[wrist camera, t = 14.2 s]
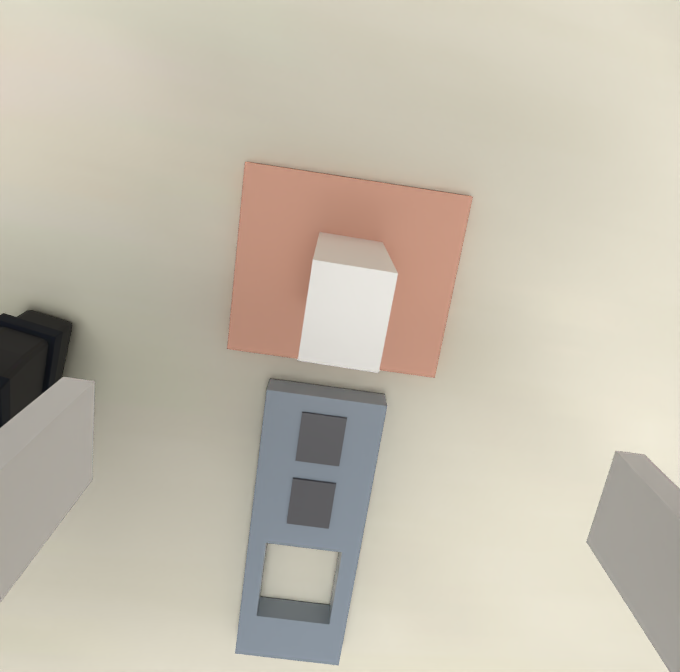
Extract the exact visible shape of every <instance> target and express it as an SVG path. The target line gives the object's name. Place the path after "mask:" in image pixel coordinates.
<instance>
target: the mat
mask: <svg viewBox="0 0 680 672" xmlns="http://www.w3.org/2000/svg"><path fill="white" fill-rule="evenodd" d="M472 198H473V197H471V196H467V195H460V194H454V193H447V192H441V191H434V190H428V189H421V188H415V187H408V186H402V185H395V184H388V183H382V182H375V181H369V180H362V179H356V178H349V177H343V176H336V175H330V174H323V173H317V172H310V171H304V170H297V169H291V168H284V167H278V166H271V165H265V164H258V163H252V162H245V168H244V178H243V189H242V199H241V210H240V220H239V230H238V241H237V251H236V262H235V272H234V283H233V293H232V303H231V314H230V324H229V335H228V345H227V349H231V350H238V351H246V352H253V353H260V354H267V355H274V356H282V357H289V358H296V359H298V355H299V348H300V342H301V335H302V328H303V321H304V315H305V308H306V301H307V295H308V288H309V281H310V275H311V268H312V261H313V257H314V253H315V248H316V244H317V240H318V236H319V232H323V233H330V234H336V235H342V236H348V237H354V238H360V239H366V240H372V241H379V242H383V244H384V246H385V248H386V250H387V252H388V254H389V256H390V258H391V260H392V262H393V264H394V266H395V268H396V270H397V272H398V276H397V282H396V287H395V292H394V297H393V302H392V307H391V312H390V317H389V323H388V328H387V333H386V338H385V343H384V348H383V353H382V359H381V364H380V369H379V370H383V371H390V372H397V373H404V374H411V375H419V376H426V377H433V378H435V374H436V369H437V364H438V360H439V355H440V350H441V345H442V341H443V336H444V331H445V326H446V322H447V317H448V312H449V307H450V303H451V298H452V293H453V288H454V284H455V279H456V274H457V269H458V265H459V260H460V255H461V250H462V246H463V241H464V236H465V231H466V227H467V222H468V217H469V212H470V208H471V203H472Z"/></svg>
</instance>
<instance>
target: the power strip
mask: <svg viewBox="0 0 680 672" xmlns="http://www.w3.org/2000/svg"><path fill="white" fill-rule="evenodd" d="M386 409H387V403H386V398H385V394H379V393H372V392H365V391H358V390H350V389H343V388H336V387H328V386H321V385H314V384H306V383H299V382H292V381H284V380H277V379H270V381H269V384H268V387H267V392H266V400H265V409H264V417H263V425H262V434H261V442H260V450H259V459H258V467H257V475H256V484H255V492H254V500H253V509H252V517H251V525H250V534H249V542H248V550H247V559H246V567H245V575H244V584H243V592H242V600H241V609H240V617H239V625H238V634H237V642H236V650H235V653H236V654H245V655H254V656H262V657H271V658H280V659H288V660H297V661H306V662H314V663H323V664H332V665H339V660H340V655H341V649H342V644H343V639H344V633H345V628H346V623H347V617H348V612H349V607H350V601H351V596H352V591H353V585H354V580H355V575H356V569H357V564H358V559H359V553H360V548H361V543H362V537H363V532H364V527H365V521H366V516H367V511H368V505H369V500H370V495H371V489H372V484H373V479H374V473H375V468H376V463H377V457H378V452H379V447H380V441H381V436H382V431H383V425H384V420H385V415H386ZM267 543H271V544H279V545H287V546H295V547H303V548H311V549H320V550H328V551H336V552H339V555H338V561H337V566H336V572H335V578H334V584H333V589H332V595H331V601H330V605H326V604H317V603H309V602H301V601H292V600H284V599H276V598H267V597H260V593H261V585H262V577H263V570H264V562H265V554H266V547H267Z"/></svg>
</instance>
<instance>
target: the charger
mask: <svg viewBox="0 0 680 672" xmlns="http://www.w3.org/2000/svg"><path fill="white" fill-rule="evenodd" d="M397 276H398V272H397V270H396V268H395V266H394V264H393V262H392V260H391V258H390V256H389V254H388V252H387V250H386V248H385V246H384V244H383V242H379V241H372V240H366V239H360V238H354V237H348V236H342V235H336V234H330V233H323V232H319V236H318V240H317V244H316V248H315V253H314V257H313V261H312V268H311V275H310V281H309V288H308V295H307V301H306V308H305V315H304V321H303V328H302V335H301V342H300V348H299V355H298V361H303V362H310V363H316V364H323V365H329V366H336V367H343V368H349V369H356V370H362V371H369V372H375V373H379V369H380V364H381V359H382V353H383V348H384V343H385V338H386V333H387V328H388V323H389V317H390V312H391V307H392V302H393V297H394V292H395V287H396V282H397Z"/></svg>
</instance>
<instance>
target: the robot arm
mask: <svg viewBox="0 0 680 672" xmlns="http://www.w3.org/2000/svg"><path fill="white" fill-rule="evenodd" d="M94 402H95V381H92V380H84V379H77V378H69V377H62V378H61V379H60V380H59V381H57V382H56V383H55V384H54V385H52V386H51V387H50V388H49V389H48V390H46V391H45V392H44V393H43V394H41V395H40V396H39V397H38V398H37V399H35V400H34V401H33V402H32V403H30V404H29V405H28V406H27V407H25V408H24V409H23V410H22V411H21V412H19V413H18V414H17V415H16V416H14V417H13V418H12V419H11V420H10V421H8V422H7V423H6V424H5V425H3V426H2V427H1V428H0V602H1V601H2V600H3V598H4V597H5V596H6V594H7V593H8V592H9V590H10V589H11V588H12V586H13V585H14V584H15V582H16V581H17V580H18V578H19V577H20V576H21V574H22V573H23V572H24V570H25V569H26V568H27V566H28V565H29V564H30V562H31V561H32V560H33V558H34V557H35V556H36V554H37V553H38V552H39V550H40V549H41V548H42V546H43V545H44V544H45V542H46V541H47V540H48V538H49V537H50V536H51V534H52V533H53V532H54V530H55V529H56V528H57V526H58V525H59V524H60V522H61V521H62V520H63V518H64V517H65V516H66V514H67V513H68V512H69V510H70V509H71V508H72V506H73V505H74V504H75V502H76V501H77V500H78V498H79V497H80V496H81V494H82V493H83V492H84V490H85V489H86V488H87V486H88V485H89V484H90V482H91V481H92V479H93V441H94ZM587 544H588V545H589V547H590V548H591V550H592V551H593V553H594V555H595V556H596V558H597V559H598V561H599V562H600V564H601V565H602V567H603V569H604V570H605V572H606V573H607V575H608V576H609V578H610V579H611V581H612V583H613V584H614V586H615V587H616V589H617V590H618V592H619V594H620V595H621V597H622V598H623V600H624V601H625V603H626V604H627V606H628V608H629V609H630V611H631V612H632V614H633V615H634V617H635V618H636V620H637V622H638V623H639V625H640V626H641V628H642V629H643V631H644V633H645V634H646V636H647V637H648V639H649V640H650V642H651V643H652V645H653V647H654V648H655V650H656V651H657V653H658V654H659V656H660V658H661V659H662V661H663V662H664V664H665V665H666V667H667V668H668V670H669V672H680V489H679V488H678V487H677V486H676V485H675V484H674V483H673V482H672V481H671V480H670V479H669V478H668V477H667V476H666V475H665V474H664V473H663V472H662V471H661V470H660V469H659V468H658V467H657V466H656V465H655V464H654V463H653V462H652V461H651V460H650V459H649V458H648V457H647V456H646V455H644V454H636V453H629V452H622V451H615V454H614V458H613V461H612V464H611V467H610V470H609V473H608V476H607V479H606V482H605V486H604V489H603V492H602V495H601V498H600V501H599V504H598V507H597V510H596V514H595V517H594V520H593V523H592V526H591V529H590V532H589V535H588V538H587Z"/></svg>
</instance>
